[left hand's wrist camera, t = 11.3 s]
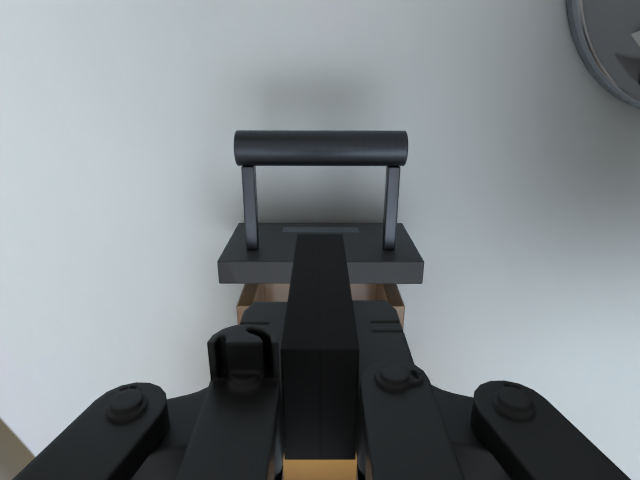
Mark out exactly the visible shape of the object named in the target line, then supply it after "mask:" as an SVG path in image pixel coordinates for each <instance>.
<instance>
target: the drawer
mask: <svg viewBox="0 0 640 480" xmlns="http://www.w3.org/2000/svg"><path fill="white" fill-rule="evenodd" d="M234 155H235V161H236V164H237V165H238V166H242V184H243V201H244V217H245V223H239V224H238V226H237V228H236V229H235V231H234V233H233V235H232V237H231V238H230V240H229V242H228V244H227V245H226V247H225V249H224V251H223V253H222V254H221V256H220V258H219V260H218V262H217V263H218V275H219V283H241V284H245V285H244V287H243V290H242V293H241V296H240V298H239V301H238V304H237V320H238V325H240V321H241V318H242V315H243V312H244V311H245V310H246V309H247V308H248V307H249V306H250V305H251V304H253V303H254V302H287V301H288V295H289V288H290V281H291V274H292V267H293V260H294V253H295V247H296V240H297V234H343V240H344V247H345V253H346V260H347V267H348V274H349V281H350V288H351V295H352V300H386V301H387V302H388V303H389V304H390V305H391V306H392V307H394V308H395V309H396V310H397V313H398V316H399V320H400V323H401V326H402V329H403V323H404V310H405V306H404V303H403V300H402V298H401V295H400V292H399V290H398V287H397V284H422V280H423V269H424V261H423V259H422V257H421V256H420V254H419V252H418V250H417V249H416V247H415V245H414V243H413V242H412V240H411V238H410V236H409V235H408V233H407V231H406V229H405V228H404V226H403V224H402V223H397V211H398V196H399V180H400V167H399V166H404V165H405V164H406V161H407V155H408V136H407V133H406V131H236V132H235V136H234ZM255 166H386V183H385V202H384V220H383V223H258V208H257V187H256V167H255Z"/></svg>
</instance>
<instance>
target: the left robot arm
mask: <svg viewBox="0 0 640 480" xmlns="http://www.w3.org/2000/svg"><path fill="white" fill-rule="evenodd" d="M566 1H567V12H568V19H569V25H570V29H571V33H572V37H573V39H574V42H575V45H576V48H577V50H578V52H579V54H580V56H581V58H582V60H583V62H584V64H585V65H586V67H587V68H588V70H589V71H590V73H591V74H592V75H593V76H594V77H595V79H596V80H597V81H598V82H599V83H600V84H601V85H602V86H603V87H604V88H605V89H606V90H607V91H609V92H610V93H612V94H613V95H614V96H616V97H617V98H619V99H621V100H622V101H624V102H626V103H628V104H630V105H633V106H635V107H638V108H640V0H566ZM207 346H208V356H209V365H210V375H211V381H210V384H209V387H207V388H205V389H203V390H201V391H199V392H196V393H192V394H189V395H185V396H180V397H176V398H171V399H167V398H166V393H165V392H164V391H163V390H162V389H161V387H159V386H157V385H154V384H151V383H132V384H127V385H122V386H119V387H117V388H115V389H113V390H110V391H108V392H106V393H105V394H104V395H102V396H101V397H99V398H98V399H97V400H95V401H94V402H93V403H92V404H91V405H90V406H89V407H88V408H87V409H86V410H85V411H84V412H83V413H82V414H81V415H80V416H79V417H77V418H76V419H75V420H74V421H73V422H72V423H71V424H70V425H69V426H68V427H67V428H66V429H65V430H64V431H63V432H62V433H61V434H60V435H59V436H58V437H56V438H55V439H54V440H53V441H52V442H51V443H50V444H49V445H48V446H47V447H46V448H45V449H44V450H43V451H42V452H41V453H40V454H39V455H38V456H37V457H35V458H34V459H33V460H32V461H31V462H30V463H29V464H28V465H27V466H26V467H25V468H24V469H23V470H22V471H21V472H20V473H19V474H18V475H17V476H16V477H15V478H13V479H12V480H284V473H283V459H284V460H356V457H357V473H356V480H631V479H630V478H629V477H628V476H627V475H625V474H624V473H623V472H622V471H621V470H620V469H619V468H618V467H617V466H616V465H615V464H614V463H613V462H612V461H611V460H610V459H609V458H608V457H606V456H605V455H604V454H603V453H602V452H601V451H600V450H599V449H598V448H597V447H596V446H595V445H594V444H593V443H592V442H591V441H590V440H588V439H587V438H586V437H585V436H584V435H583V434H582V433H581V432H580V431H579V430H578V429H577V428H576V427H575V426H574V425H573V424H572V423H570V422H569V421H568V420H567V419H566V418H565V417H564V416H563V415H562V414H561V413H560V412H559V411H558V410H557V409H556V408H555V407H554V406H553V405H551V404H550V403H549V402H548V401H547V400H546V399H545V398H544V397H542V396H541V395H540V394H538V393H537V392H535V391H534V390H532V389H530V388H528V387H525V386H523V385H521V384H518V383H513V382H508V381H489V382H487V383H484V384H481V385H480V386H479V387H478V388H477V389H476V390H475V392H474V398H472V397H468V396H463V395H459V394H454V393H451V392H447V391H444V390H441V389H439V388H437V387H435V386H433V385H431V383H430V380H429V378H428V377H427V375H426V374H425V372H424V371H423V370H421V369H420V368H419V367H417V366H416V365H414V362H413V359H412V356H411V353H410V350H409V347H408V344H407V341H406V338H405V335H404V333H403V329H402V326H401V323H400V320H399V316H398V313H397V310H396V309H395V308H394V307H392V306H391V305H390V304H389V303H388V302H387V301H386V300H352V295H351V288H350V281H349V274H348V267H347V260H346V253H345V247H344V240H343V234H297V240H296V247H295V253H294V260H293V267H292V274H291V281H290V288H289V295H288V301H287V302H254V303H253V304H251V305H250V306H249V307H248V308H247V309H246V310H245V311H244V312H243V315H242V318H241V321H240V325H235V326H231V327H228V328H225V329H222V330H221V331H219V332H217V333H216V334H214V335H213V336H212V337H211V338H210V340H209V341H208V342H207Z"/></svg>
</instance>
